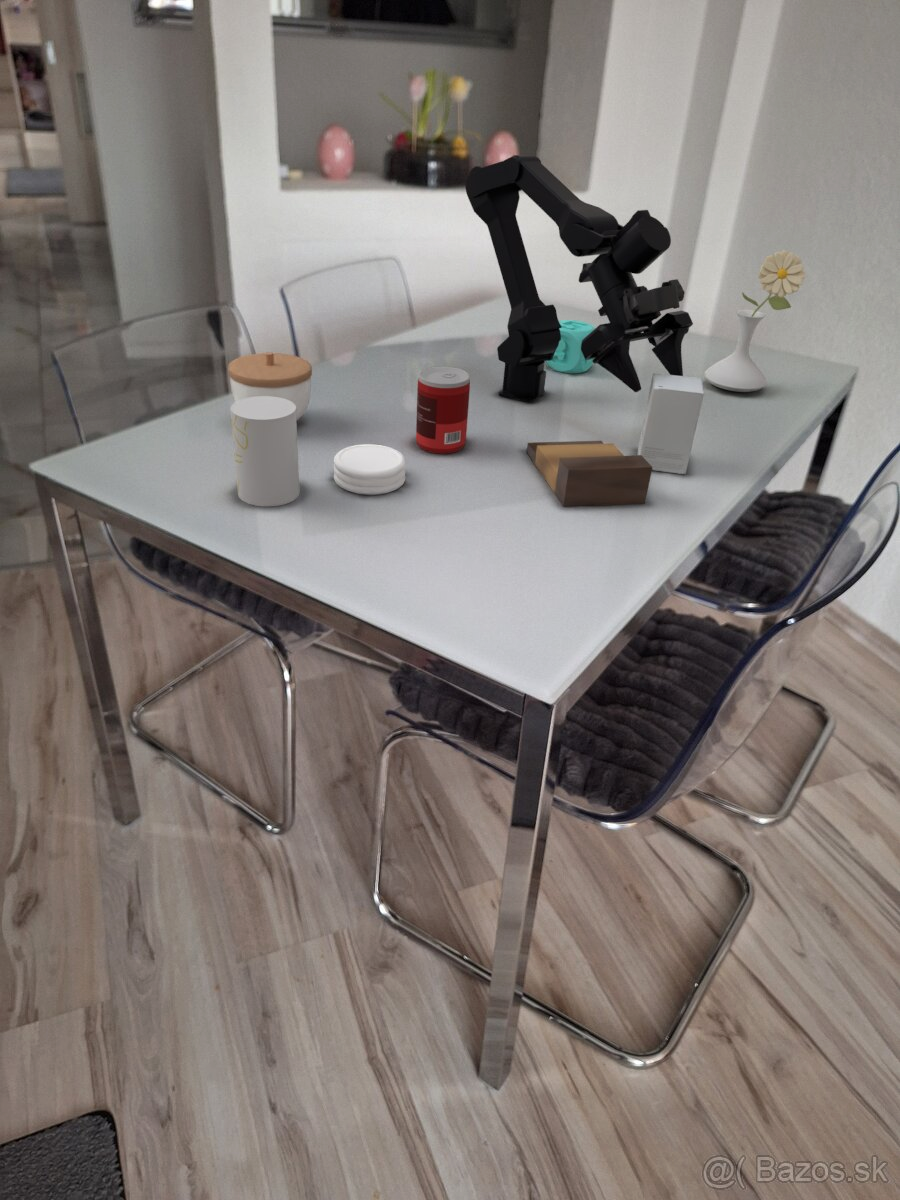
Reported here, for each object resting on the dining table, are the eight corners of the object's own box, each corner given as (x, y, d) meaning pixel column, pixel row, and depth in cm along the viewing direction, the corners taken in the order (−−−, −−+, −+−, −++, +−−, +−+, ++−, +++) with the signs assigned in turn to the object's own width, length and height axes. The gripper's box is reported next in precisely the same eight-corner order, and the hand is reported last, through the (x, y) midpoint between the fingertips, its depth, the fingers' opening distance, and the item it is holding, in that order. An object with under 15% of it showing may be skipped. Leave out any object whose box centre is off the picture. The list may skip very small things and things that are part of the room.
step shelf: (526, 451, 132) (530, 417, 129) (599, 449, 134) (605, 416, 131) (563, 507, 117) (568, 470, 114) (645, 503, 119) (652, 467, 116)
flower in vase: (698, 390, 160) (730, 249, 146) (706, 373, 169) (737, 238, 155) (770, 403, 156) (809, 259, 143) (775, 385, 165) (812, 248, 152)
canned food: (472, 439, 135) (477, 370, 128) (455, 458, 128) (460, 387, 122) (426, 430, 136) (429, 362, 130) (408, 449, 130) (410, 378, 124)
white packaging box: (686, 475, 128) (705, 393, 121) (636, 468, 129) (652, 387, 122) (685, 456, 134) (702, 377, 127) (637, 449, 135) (652, 371, 128)
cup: (241, 478, 118) (234, 395, 112) (301, 479, 119) (297, 396, 113) (234, 506, 112) (226, 418, 105) (297, 506, 112) (293, 420, 106)
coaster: (377, 503, 115) (377, 479, 113) (319, 482, 119) (318, 459, 117) (418, 477, 122) (419, 455, 120) (362, 459, 126) (362, 437, 124)
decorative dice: (595, 366, 169) (601, 325, 164) (578, 376, 163) (584, 334, 158) (559, 357, 172) (564, 317, 168) (540, 367, 166) (545, 325, 162)
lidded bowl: (328, 417, 139) (327, 350, 133) (284, 443, 129) (280, 372, 123) (263, 402, 143) (259, 335, 137) (216, 426, 133) (209, 356, 127)
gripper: (607, 265, 117) (652, 368, 115) (696, 254, 126) (739, 349, 125) (560, 310, 126) (602, 406, 125) (647, 297, 136) (686, 385, 135)
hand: (659, 385), depth 127 cm, fingers open, 9 cm apart
